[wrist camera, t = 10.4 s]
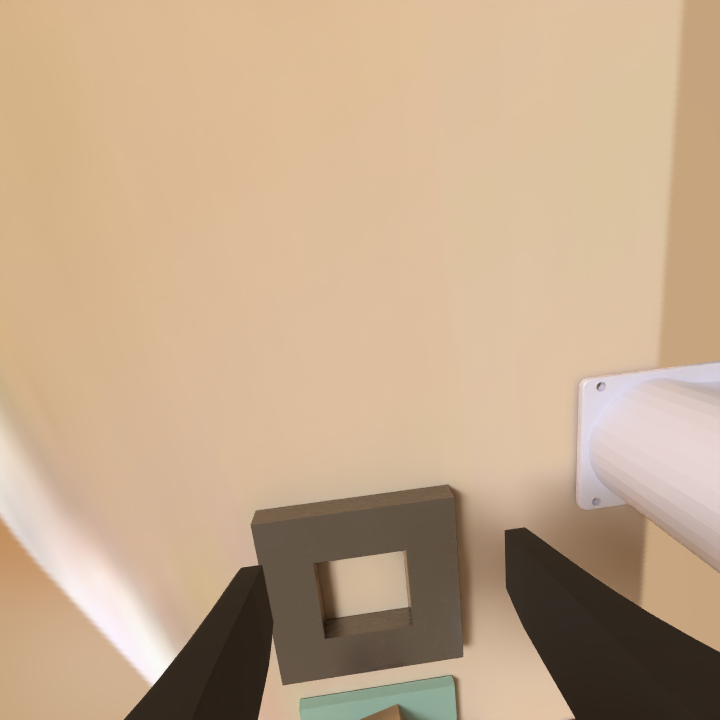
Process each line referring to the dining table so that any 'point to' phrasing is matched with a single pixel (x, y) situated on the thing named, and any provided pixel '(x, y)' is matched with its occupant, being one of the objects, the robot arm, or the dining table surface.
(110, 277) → the dining table surface
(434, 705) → the mat
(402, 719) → the brown block
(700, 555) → the robot arm
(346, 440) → the dining table surface
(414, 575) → the socket plate
